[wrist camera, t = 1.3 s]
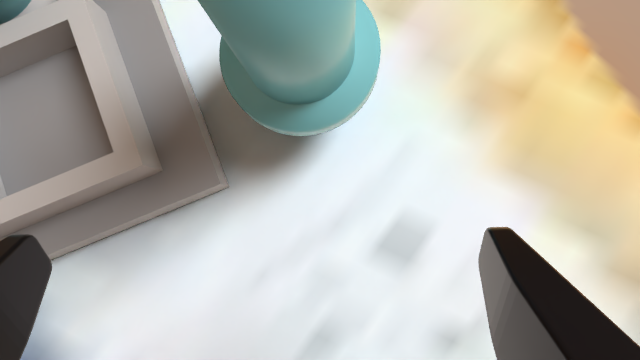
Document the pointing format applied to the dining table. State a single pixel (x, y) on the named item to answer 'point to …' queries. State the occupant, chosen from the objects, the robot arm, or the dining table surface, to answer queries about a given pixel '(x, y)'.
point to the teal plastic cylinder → (297, 60)
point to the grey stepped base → (95, 121)
